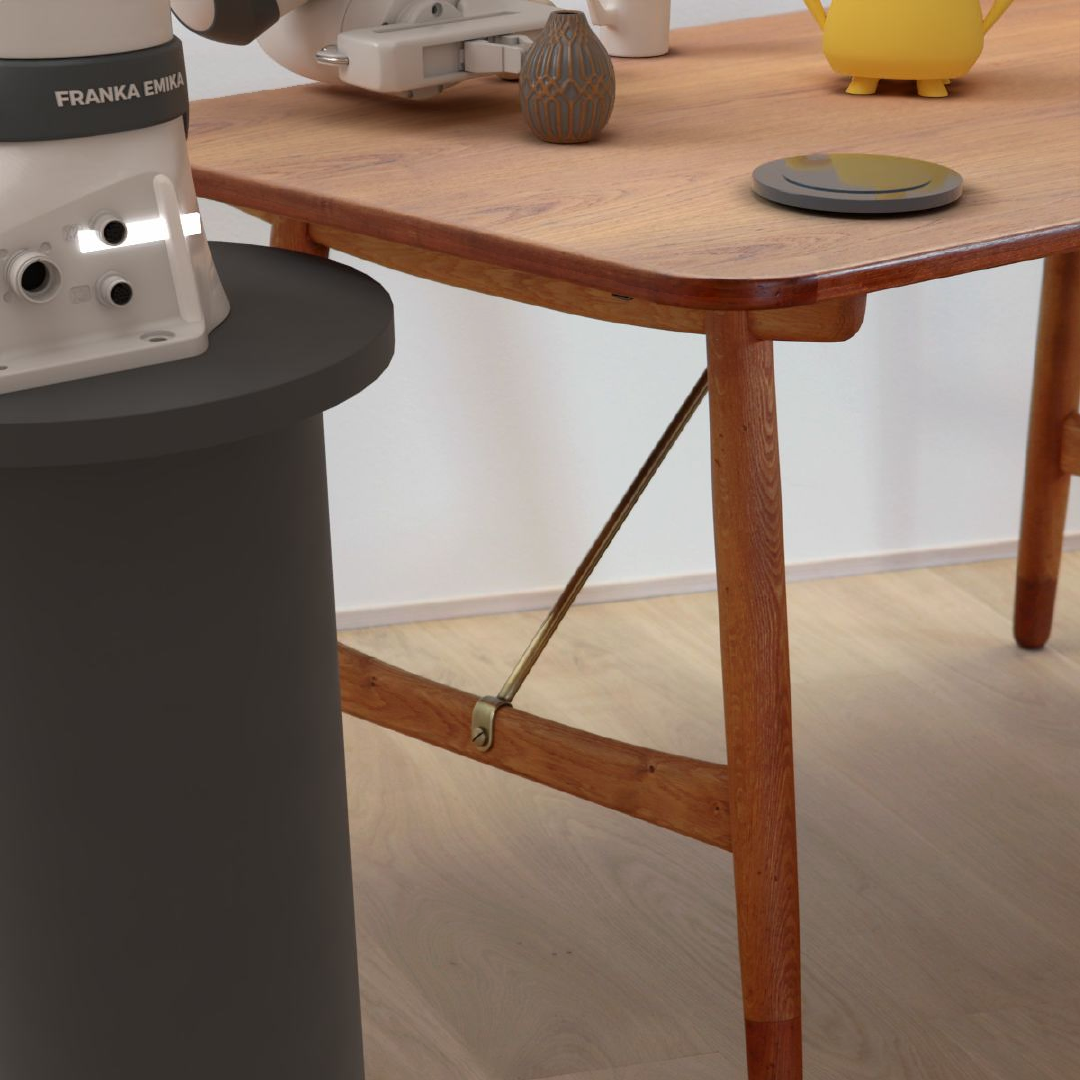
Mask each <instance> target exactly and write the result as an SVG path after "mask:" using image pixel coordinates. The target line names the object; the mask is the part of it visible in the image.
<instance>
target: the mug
mask: <svg viewBox="0 0 1080 1080" xmlns="http://www.w3.org/2000/svg"><path fill="white" fill-rule="evenodd" d="M671 2H672V0H586V5H587V9H588V14H589V17H590V22H591V24H592V25H593V26H597V27H599V29H600V30H599V33H600V34H599V35H600V41H601V43H602V44H603V45H604V47H605V48H606V50H607V52H608V54H609V56H610V57H617V58H618V57H619V58H651V57H657V56H664V55H666V54H667V53H668V52H669V45H670V43H669V42H670V28H671V27H670V25H671V8H672V7H671V5H672V3H671Z"/></svg>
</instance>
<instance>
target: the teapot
mask: <svg viewBox="0 0 1080 1080" xmlns="http://www.w3.org/2000/svg"><path fill="white" fill-rule="evenodd" d="M802 1H803V2H804V5H805V6H806V8H807V10H808V11H809V12H810V14H811V16H812V17H813V19H814V20H815V22H816V23H817V25H818V26H819V27H820V30H821V32H822V38H821V47H822V53H823V55H824V57H825V59H826V61H827V63H828V64H829V66H830V68H831V69H832V71H833V72H834V73H836V74H839V75H844V76H848V77H849V76H851V77H852V78H851V82H849V85H848V87H847V88H846V90H845V93H847V94H853V95H871V94H875V93H876V91H877V89H878V85H879V82H880V81H881V80H882V79H883V80H915V81H916V89H917V94H918V95H919V96H921V97H929V98H941V97H943V98H944V97H947V96H948V95H949V94H948V91H947V89H946V86H945V85H949V84H951V80H950V79H956V78H957V79H958V78H961V77H964V76H966V75H968V72H970V70H971V69H972V68H973V66H974V65H975V64H976V62H977V61H978V60H979V58H980V57H981V55H982V52H983V50H984V46H985V45H984V42H985V36H986V34H987V33H988V32H989V31H990V30H991V29H992V28H993V26H994V25H995V24H996V23H997V22H998V21H999V20H1000V19H1001V17H1002V16H1003V15H1004V14H1005V13H1006V12H1007V10H1008V9H1009V8H1010V6H1011V5H1012V3H1014V1H1015V0H994V2H993V3H992V6H991V7H990V9H989V10H988V12H987V14H986V15H985V17H983V12H982V7H981V1H980V0H831V1H830V5H829V7H828V11H827V13H826V11H825V9H824V7H823V4H822V2H821V0H802Z"/></svg>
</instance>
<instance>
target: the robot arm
mask: <svg viewBox="0 0 1080 1080" xmlns="http://www.w3.org/2000/svg"><path fill="white" fill-rule="evenodd" d="M559 10H567V9H565V8H562V7H559V6H556V7H554V6H549V5H545V4H540V3H536V2H531V1H526V0H0V395H1V394H6V393H11V392H16V391H21V390H26V389H32V388H37V387H42V386H47V385H52V384H57V383H62V382H68V381H73V380H78V379H83V378H88V377H93V376H99V375H104V374H109V373H114V372H119V371H124V370H129V369H135V368H140V367H145V366H150V365H155V364H160V363H166V362H171V361H176V360H181V359H186V358H191V357H195V356H198V355H201V354H203V353H204V352H205V351H206V350H207V349H208V345H209V339H208V335H209V333H210V332H211V331H212V330H213V329H214V328H215V327H217V326H218V325H219V324H220V323H221V322H223V321H224V320H225V318H226V317H227V316H228V314H229V312H230V303H229V301H228V298H227V296H226V294H225V291H224V289H223V287H222V284H221V282H220V279H219V276H218V273H217V271H216V268H215V265H214V262H213V258H212V255H211V252H210V249H209V246H208V242H207V241H208V238H207V233H206V231H205V226H204V222H203V219H202V215H201V211H200V206H199V202H198V196H197V193H196V188H195V183H194V179H193V173H192V167H191V162H190V161H191V160H190V157H189V156H190V155H189V149H188V144H187V141H188V138H189V129H190V98H189V97H190V96H189V89H188V87H189V86H188V79H187V69H186V63H185V53H184V45H183V41H182V39H180V37H178V36H177V35H176V34H174V29H173V17H172V14H173V16H174V17H175V18H176V19H177V21H178V22H179V24H181V25H182V26H183V27H184V28H186V29H187V30H188V31H190V32H192V33H194V34H196V35H197V36H199V37H202V38H205V39H206V40H209V41H211V42H216V43H220V44H225V45H230V46H239V47H240V46H241V47H243V46H244V47H245V46H248V45H250V44H251V43H252V42H254V41H255V40H256V42H257V44H258V45H259V47H260V48H261V50H262V51H263V52H264V53H265V55H267V56H268V57H269V58H270V59H271V60H272V61H274V62H275V63H276V64H278V65H279V66H280V67H282V68H284V69H285V70H288V71H290V72H291V73H294V74H295V75H297V76H301V77H302V78H306V79H309V80H313V81H316V82H320V83H324V84H328V85H334V86H337V87H358V88H362V89H363V90H366V91H368V92H372V93H375V94H381V95H386V96H392V97H397V98H402V99H408V100H411V101H412V100H413V101H426V100H429V99H432V98H434V97H436V96H438V95H439V94H441V93H442V92H443V91H444V90H447V89H449V88H452V87H454V86H456V85H458V84H460V83H462V82H465V81H468V80H473V79H479V78H485V77H490V76H497V75H496V74H502V73H508V72H509V73H515V74H519V73H520V71H521V67H522V63H523V60H524V57H525V55H526V53H527V51H528V49H529V48H530V46H531V45H532V44H533V42H534V41H535V39H536V38H537V37H538V35H539V34H540V32H541V31H542V30H543V28H544V26H545V24H546V22H547V20H548V17H549V15H550V13H551V12H553V11H559Z"/></svg>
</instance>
